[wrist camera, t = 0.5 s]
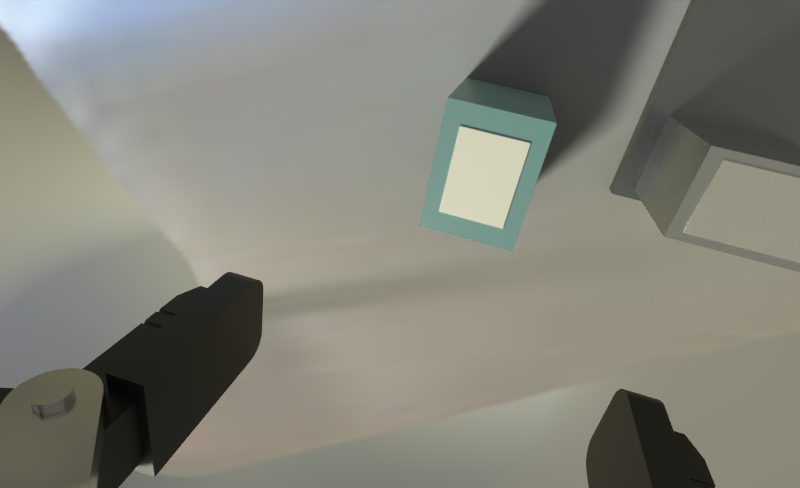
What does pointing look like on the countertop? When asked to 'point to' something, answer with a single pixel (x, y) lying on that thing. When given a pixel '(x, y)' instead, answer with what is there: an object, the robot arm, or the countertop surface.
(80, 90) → the countertop surface
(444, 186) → the block
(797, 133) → the rail
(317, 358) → the countertop surface
